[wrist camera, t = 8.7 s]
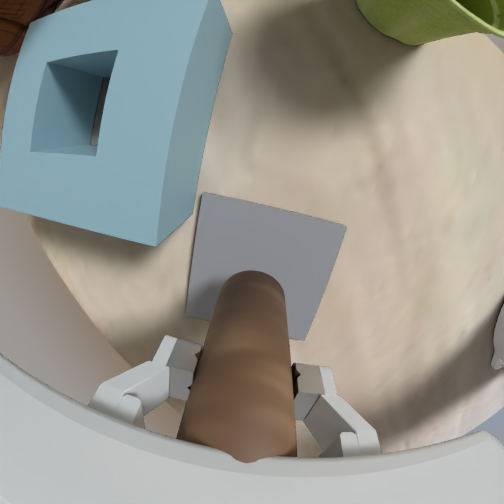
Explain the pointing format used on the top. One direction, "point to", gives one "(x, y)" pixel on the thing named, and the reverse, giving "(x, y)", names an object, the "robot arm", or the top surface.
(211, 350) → the peg
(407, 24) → the plant pot
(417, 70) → the top surface
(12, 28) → the wooden figurine
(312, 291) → the pad
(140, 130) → the socket
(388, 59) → the top surface
